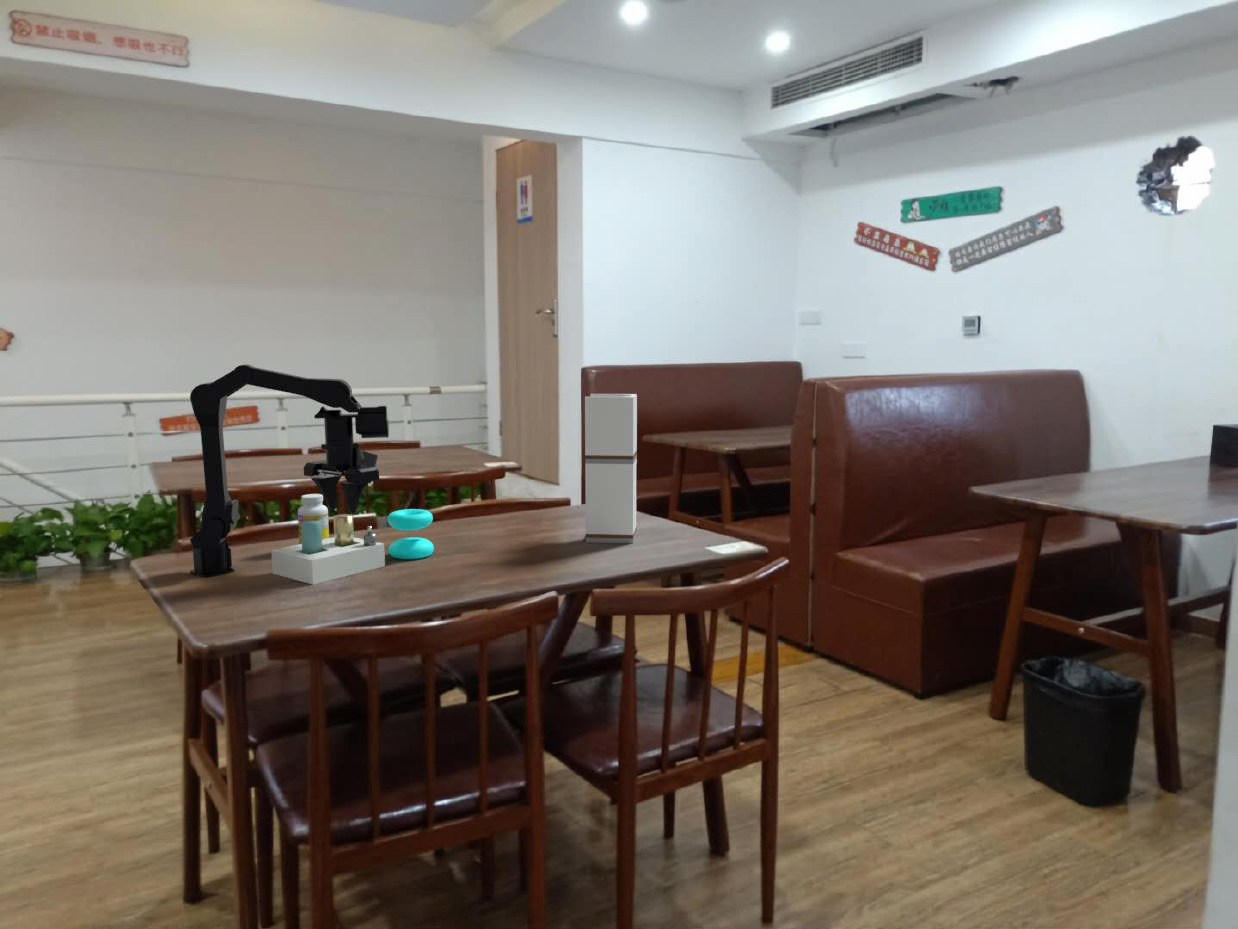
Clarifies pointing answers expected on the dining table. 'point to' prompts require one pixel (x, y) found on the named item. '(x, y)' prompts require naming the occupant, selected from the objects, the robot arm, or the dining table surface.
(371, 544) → the potentiometer
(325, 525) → the supplement bottle
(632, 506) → the toy refrigerator
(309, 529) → the teal cylinder
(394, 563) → the dining table surface
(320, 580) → the mount
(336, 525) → the brass knob
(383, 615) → the dining table surface
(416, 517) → the donuts
